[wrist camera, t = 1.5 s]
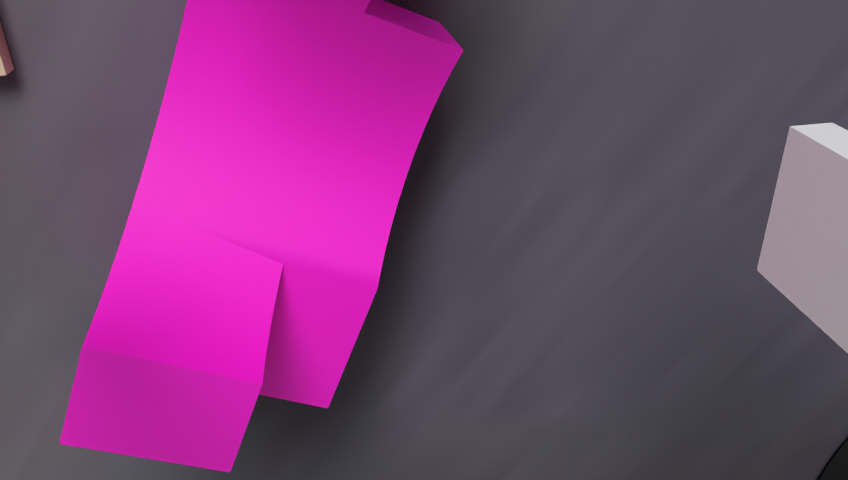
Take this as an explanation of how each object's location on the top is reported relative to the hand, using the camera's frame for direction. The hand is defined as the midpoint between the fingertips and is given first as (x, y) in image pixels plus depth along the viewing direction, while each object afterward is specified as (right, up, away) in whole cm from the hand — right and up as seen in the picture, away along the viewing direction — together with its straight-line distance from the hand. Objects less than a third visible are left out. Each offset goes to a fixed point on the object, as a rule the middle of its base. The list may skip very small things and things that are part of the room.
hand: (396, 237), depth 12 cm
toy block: (-3, +5, +9) cm, 11 cm away
